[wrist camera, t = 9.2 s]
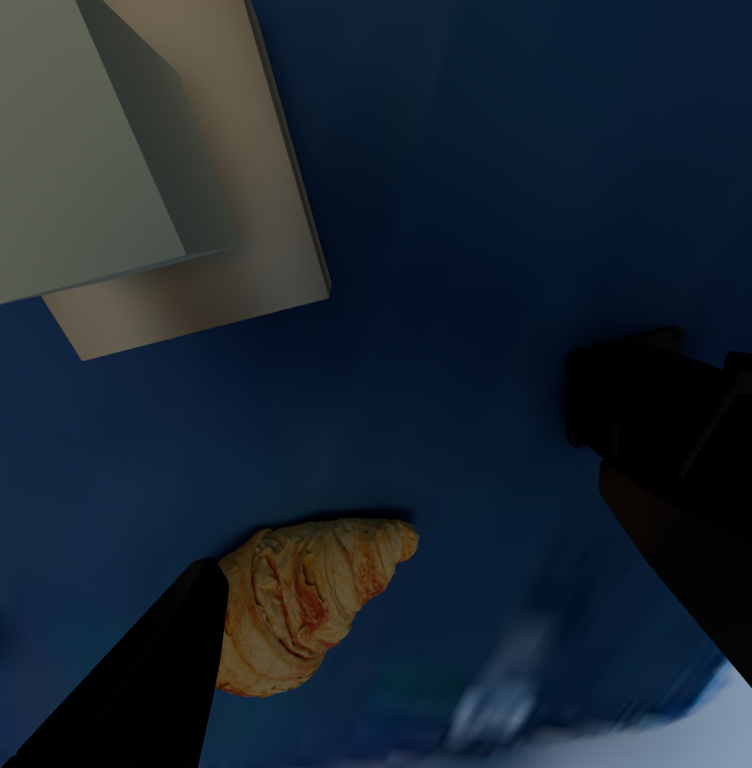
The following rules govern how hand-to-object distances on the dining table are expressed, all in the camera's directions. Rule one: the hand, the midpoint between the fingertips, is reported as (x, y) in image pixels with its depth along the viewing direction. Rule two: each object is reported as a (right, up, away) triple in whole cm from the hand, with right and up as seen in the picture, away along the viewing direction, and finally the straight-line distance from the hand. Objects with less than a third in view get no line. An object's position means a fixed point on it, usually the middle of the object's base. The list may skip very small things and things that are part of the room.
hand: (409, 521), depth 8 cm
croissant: (-7, -11, +18) cm, 22 cm away
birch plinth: (-9, +11, +7) cm, 16 cm away
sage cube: (-9, +10, +4) cm, 13 cm away
